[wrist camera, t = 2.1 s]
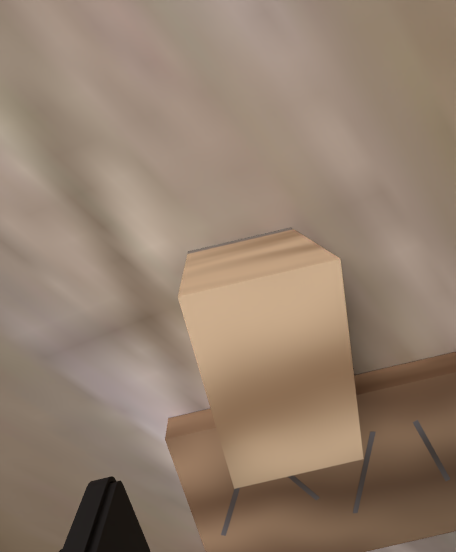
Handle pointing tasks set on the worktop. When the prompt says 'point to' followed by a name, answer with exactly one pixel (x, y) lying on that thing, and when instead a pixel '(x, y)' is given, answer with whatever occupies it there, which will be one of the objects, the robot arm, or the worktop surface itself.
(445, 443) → the board
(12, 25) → the worktop surface
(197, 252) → the block
